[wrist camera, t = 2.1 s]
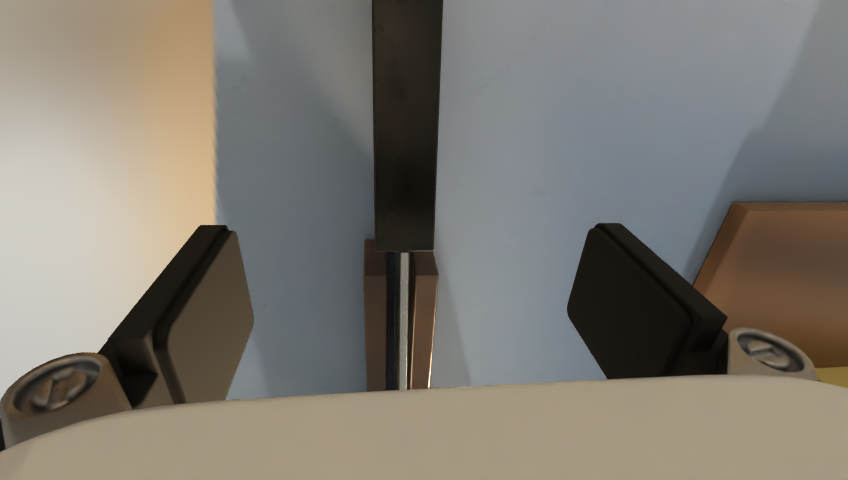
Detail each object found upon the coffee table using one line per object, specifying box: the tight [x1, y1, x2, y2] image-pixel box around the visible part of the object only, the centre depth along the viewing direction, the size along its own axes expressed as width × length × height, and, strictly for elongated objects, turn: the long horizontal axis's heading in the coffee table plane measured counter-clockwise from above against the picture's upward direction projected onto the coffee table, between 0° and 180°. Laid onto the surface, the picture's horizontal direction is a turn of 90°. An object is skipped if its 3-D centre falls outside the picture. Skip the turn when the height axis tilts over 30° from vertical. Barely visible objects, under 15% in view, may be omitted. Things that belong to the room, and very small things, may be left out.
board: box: [693, 202, 848, 368], centre depth 26 cm, size 20×18×1 cm
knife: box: [372, 0, 443, 390], centre depth 18 cm, size 24×2×4 cm, turn 177°
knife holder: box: [363, 240, 439, 392], centre depth 22 cm, size 15×3×3 cm, turn 177°
